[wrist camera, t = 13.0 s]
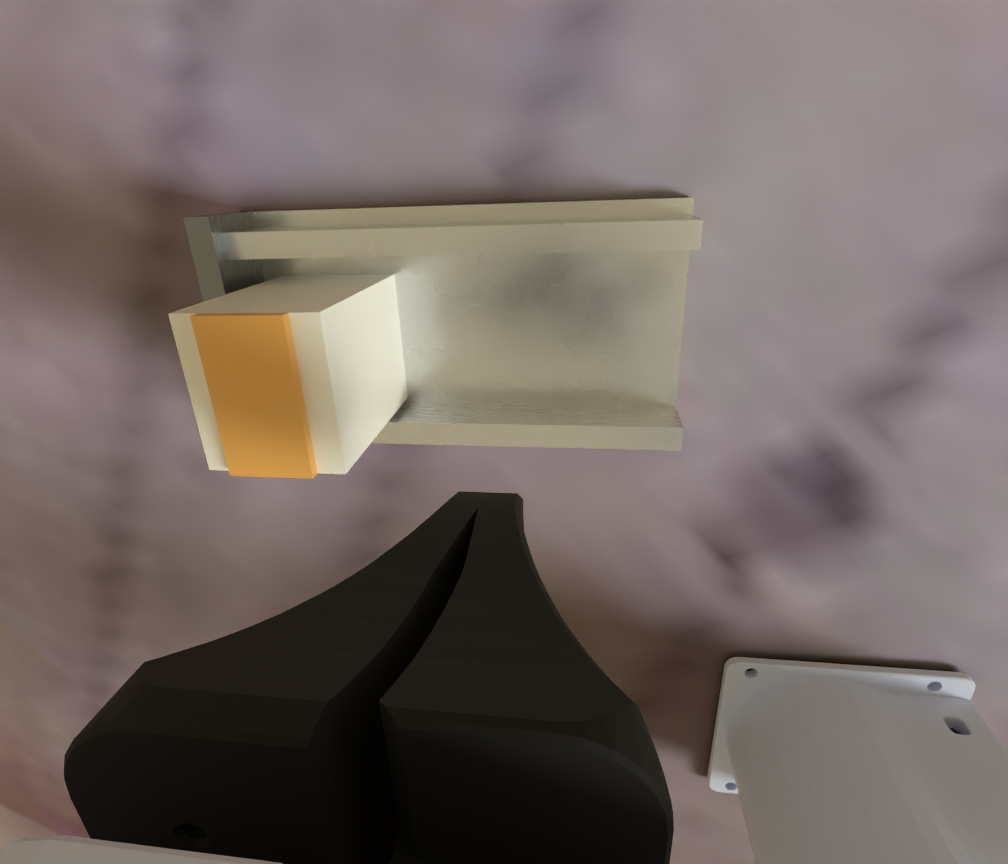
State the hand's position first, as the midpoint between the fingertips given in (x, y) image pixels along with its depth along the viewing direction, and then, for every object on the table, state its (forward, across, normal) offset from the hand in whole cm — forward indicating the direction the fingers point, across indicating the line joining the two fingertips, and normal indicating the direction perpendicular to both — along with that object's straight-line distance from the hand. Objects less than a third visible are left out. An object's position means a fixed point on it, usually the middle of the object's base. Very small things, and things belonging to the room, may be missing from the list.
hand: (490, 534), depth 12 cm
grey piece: (+10, +2, -2) cm, 10 cm away
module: (+9, +6, -2) cm, 11 cm away
